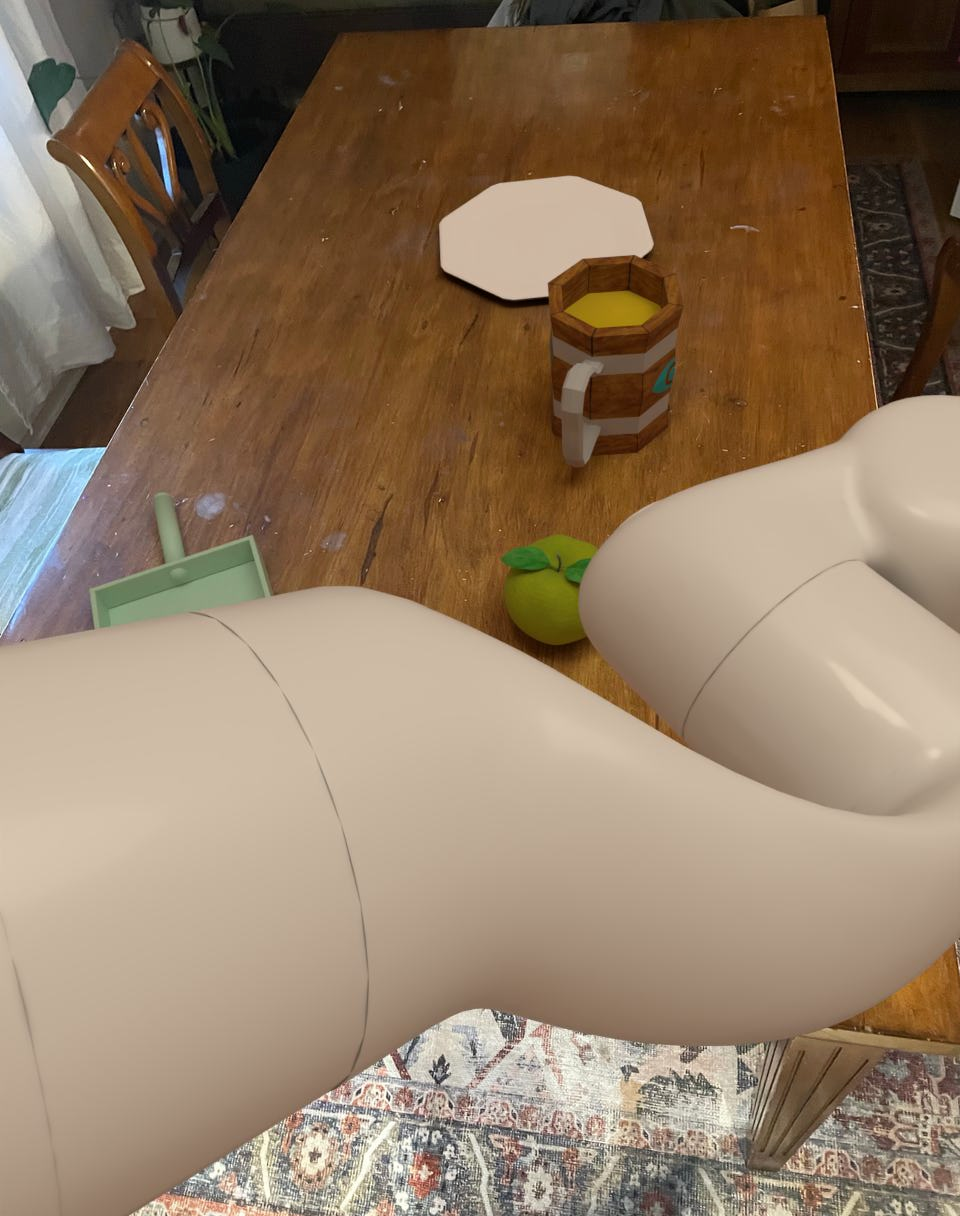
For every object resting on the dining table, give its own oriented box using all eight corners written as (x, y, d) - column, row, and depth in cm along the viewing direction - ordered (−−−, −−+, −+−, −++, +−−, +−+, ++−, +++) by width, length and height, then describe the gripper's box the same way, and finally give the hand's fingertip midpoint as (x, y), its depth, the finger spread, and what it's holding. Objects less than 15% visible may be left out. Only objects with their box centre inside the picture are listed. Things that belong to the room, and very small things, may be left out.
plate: (399, 258, 114) (397, 248, 113) (531, 168, 125) (530, 158, 124) (558, 333, 102) (558, 323, 101) (689, 227, 113) (691, 216, 112)
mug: (569, 363, 99) (570, 244, 87) (684, 386, 95) (701, 265, 83) (507, 480, 89) (498, 364, 77) (633, 511, 85) (644, 394, 73)
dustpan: (301, 686, 76) (291, 666, 73) (124, 750, 74) (107, 732, 71) (241, 484, 92) (231, 461, 89) (93, 531, 89) (78, 510, 87)
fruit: (587, 678, 74) (590, 613, 66) (492, 643, 77) (484, 576, 69) (626, 600, 79) (633, 530, 71) (534, 569, 82) (531, 499, 74)
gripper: (714, 826, 32) (661, 952, 46) (1087, 673, 35) (926, 838, 49) (624, 669, 36) (601, 830, 51) (962, 544, 39) (848, 731, 53)
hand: (762, 833), depth 50 cm, fingers closed on soda can, 5 cm apart
